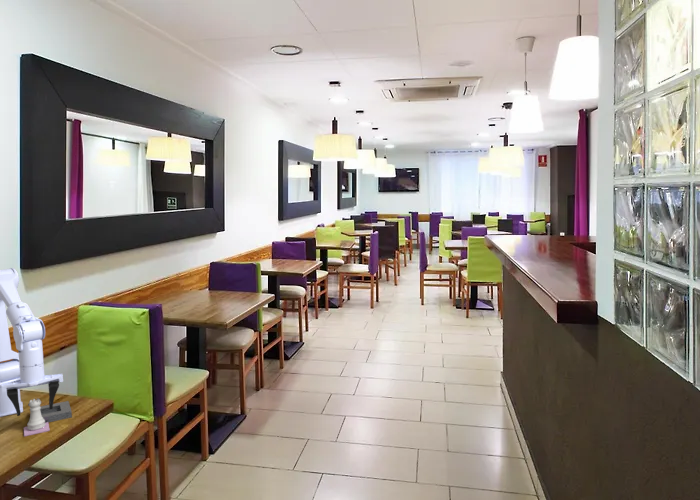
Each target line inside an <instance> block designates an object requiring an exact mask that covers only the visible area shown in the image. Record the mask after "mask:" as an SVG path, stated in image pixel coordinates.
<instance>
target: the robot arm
mask: <svg viewBox="0 0 700 500" xmlns="http://www.w3.org/2000/svg"><path fill="white" fill-rule="evenodd" d="M19 276H20V275H19V273H18V271H17V270H16V269H15V267H10V268H3V269H0V417H5V416H10V415H15V414H16V415H17V417H20V416H21V413H23V412H24V408H23V406H24V405H23V401H22V399H21V398H22V397H21V389H25V388H31V387H37V386H42V385H47V386H48V395H49V397H48V405H49V408H50V409H53V404H54V400H55V397H56V394H57V393H58V390H59V387H60V383H63V382H64V377H63V376H64V375H63V373H58V374H45V363H44V351H43V350H44V349H43V340H44V339H45V337H46V327H45V324H44V322H43V320H42V319H40V318H39V317H37V316H36V317H35V315H34V313H33V311H32V309H31V308H30V306H29V304H28V303H26V302H24V301H22V300H21V297H20V294H19V291H18V287H19V284H20V283H19V282H20V277H19ZM6 307H7V308H6ZM8 320H9V323H10V324H11V326H12V328H13V329H12V330H13V331H12V334H13V335H12V336H13V339H14V342H15V348H16V350H18V352H17V351H14V350H13V349H12V344H11V338H10V332H9V323H8Z"/></svg>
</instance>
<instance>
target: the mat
mask: <svg viewBox="0 0 700 500" xmlns="http://www.w3.org/2000/svg"><path fill="white" fill-rule="evenodd" d="M49 423H50V422H46V423H45V424H46V425H45V426H44V428H42V429H39V430H34V431H30V430H29V429H28V428H27V427H28V426H25V427H23V437H28V436H33V435H37V434H41V433H47V432H50V424H49Z"/></svg>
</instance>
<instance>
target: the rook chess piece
mask: <svg viewBox="0 0 700 500" xmlns="http://www.w3.org/2000/svg"><path fill="white" fill-rule="evenodd" d="M41 404H42V401H41V399H40V398H33V399H30V400H29V402H28V406H29V411H30V415H29V416H30V417H29V419H28V422H27V426H26V427H27V428H28V429H29V430H30V431H34V430H39V429H42V428H44V426H45V425H46V424H45V420H44V419H43V417H42V415H41V411H40V409H41V407H40V406H41Z"/></svg>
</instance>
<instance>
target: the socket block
mask: <svg viewBox="0 0 700 500" xmlns="http://www.w3.org/2000/svg"><path fill="white" fill-rule="evenodd" d="M70 405H71V404H70V402H69V400H66V401H62V402H56V403H53V409H50V408H49V404H45V405H40V407H41V409H40V411H41V415H42V417H43V419H44V420H45V423H46V422H48V423H51V422H56V421H62V420H66V419H70V418H73V414H72V413H73V412H72V408H71V406H70Z"/></svg>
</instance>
